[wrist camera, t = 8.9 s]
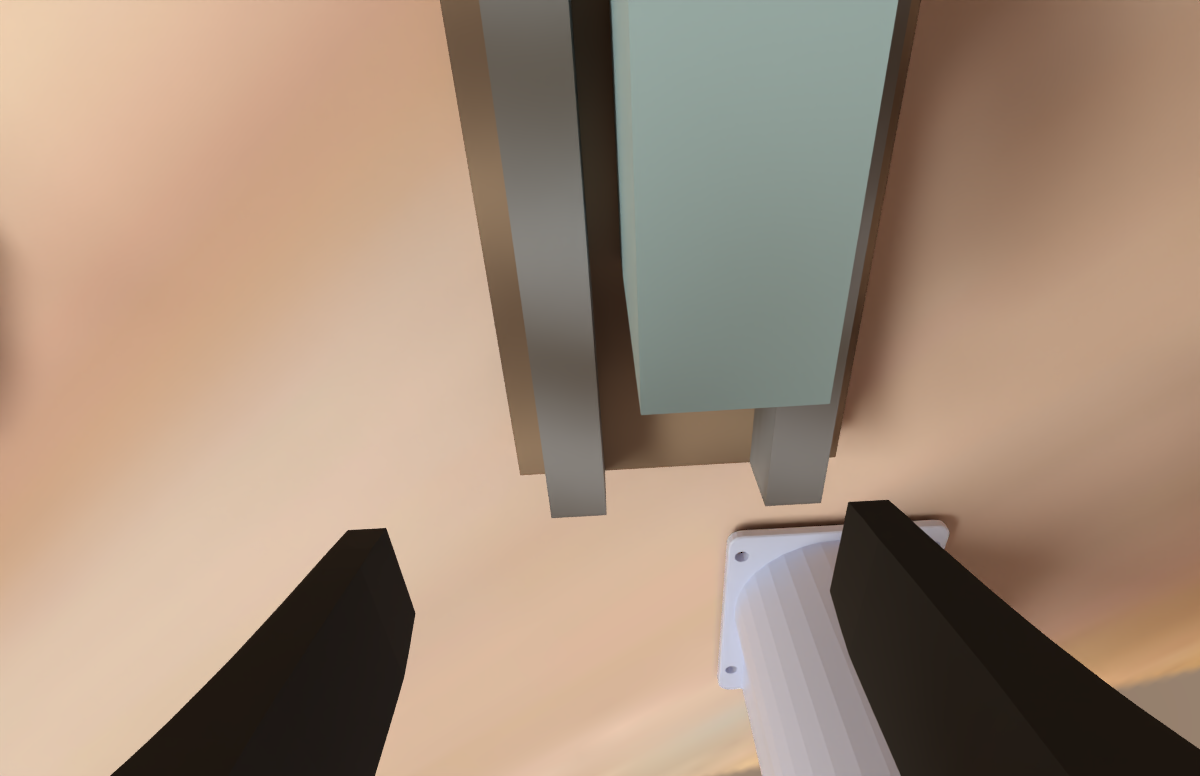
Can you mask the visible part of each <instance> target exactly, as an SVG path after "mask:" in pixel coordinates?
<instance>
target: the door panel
mask: <svg viewBox="0 0 1200 776" xmlns="http://www.w3.org/2000/svg"><path fill="white" fill-rule="evenodd" d="M897 5H898V0H609V6H610V28H611V51H612V73H613V96H614V118H615V141H616V163H617V186H618V208H619V231H620V253H621V265H622V273H623V281H624V288H625V296H626V304H627V311H628V319H629V327H630V335H631V342H632V350H633V358H634V366H635V373H636V381H637V389H638V397H639V404H640V412H641V415H652V414H669V413H686V412H702V411H719V410H736V409H753V408H769V407H786V406H803V405H820V404H830V400H831V394H832V388H833V382H834V376H835V370H836V364H837V358H838V353H839V347H840V341H841V335H842V329H843V323H844V317H845V311H846V306H847V300H848V294H849V288H850V282H851V276H852V270H853V264H854V258H855V253H856V247H857V241H858V235H859V229H860V223H861V217H862V211H863V205H864V200H865V194H866V188H867V182H868V176H869V170H870V164H871V158H872V152H873V147H874V141H875V135H876V129H877V123H878V117H879V111H880V105H881V99H882V94H883V88H884V82H885V76H886V70H887V64H888V58H889V52H890V46H891V41H892V35H893V29H894V23H895V17H896V11H897Z"/></svg>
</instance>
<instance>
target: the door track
mask: <svg viewBox="0 0 1200 776" xmlns="http://www.w3.org/2000/svg"><path fill="white" fill-rule="evenodd" d="M920 2H921V0H898V5H897V11H896V17H895V23H894V29H893V35H892V41H891V46H890V52H889V58H888V64H887V70H886V76H885V82H884V88H883V94H882V99H881V105H880V111H879V117H878V123H877V129H876V135H875V141H874V147H873V152H872V158H871V164H870V170H869V176H868V182H867V188H866V194H865V200H864V205H863V211H862V217H861V223H860V229H859V235H858V241H857V247H856V253H855V258H854V264H853V270H852V276H851V282H850V288H849V294H848V300H847V306H846V311H845V317H844V323H843V329H842V335H841V341H840V347H839V353H838V358H837V364H836V370H835V376H834V382H833V388H832V394H831V400H830V404H820V405H803V406H786V407H769V408H753V409H736V410H719V411H702V412H686V413H669V414H652V415H641V412H640V404H639V397H638V389H637V381H636V373H635V366H634V358H633V350H632V342H631V335H630V327H629V319H628V311H627V304H626V296H625V288H624V281H623V273H622V265H621V253H620V231H619V208H618V186H617V163H616V141H615V118H614V96H613V73H612V51H611V28H610V6H609V0H440V3H441V9H442V15H443V21H444V27H445V33H446V39H447V45H448V50H449V56H450V62H451V68H452V74H453V80H454V86H455V92H456V98H457V104H458V110H459V115H460V121H461V127H462V133H463V139H464V145H465V151H466V157H467V163H468V169H469V174H470V180H471V186H472V192H473V198H474V204H475V210H476V216H477V222H478V228H479V234H480V239H481V245H482V251H483V257H484V263H485V269H486V275H487V281H488V287H489V293H490V299H491V304H492V310H493V316H494V322H495V328H496V334H497V340H498V346H499V352H500V358H501V363H502V369H503V375H504V381H505V387H506V393H507V399H508V405H509V411H510V417H511V423H512V428H513V434H514V440H515V446H516V452H517V458H518V464H519V470H520V475H533V474H545V475H546V482H547V489H548V496H549V503H550V510H551V517H552V518H562V517H580V516H597V515H606V488H605V470H620V469H637V468H655V467H672V466H689V465H707V464H724V463H742V462H750V464H751V467H752V470H753V473H754V476H755V478H756V481H757V484H758V487H759V490H760V493H761V495H762V498H763V501H764V504H765V506H775V505H793V504H811V503H821V499H822V494H823V488H824V483H825V477H826V472H827V466H828V461H829V457H835V456H836V451H837V445H838V440H839V435H840V429H841V424H842V419H843V413H844V408H845V403H846V397H847V392H848V387H849V381H850V376H851V371H852V365H853V360H854V355H855V349H856V344H857V339H858V333H859V328H860V322H861V317H862V312H863V306H864V301H865V296H866V290H867V285H868V280H869V274H870V269H871V264H872V258H873V253H874V248H875V242H876V237H877V232H878V226H879V221H880V216H881V210H882V205H883V200H884V194H885V189H886V184H887V178H888V173H889V168H890V162H891V157H892V152H893V146H894V141H895V136H896V130H897V125H898V119H899V114H900V109H901V103H902V98H903V93H904V87H905V82H906V77H907V71H908V66H909V61H910V55H911V50H912V45H913V39H914V34H915V29H916V23H917V18H918V13H919V7H920Z"/></svg>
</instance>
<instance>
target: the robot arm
mask: <svg viewBox="0 0 1200 776" xmlns="http://www.w3.org/2000/svg"><path fill="white" fill-rule="evenodd" d="M949 532H950V531H949V530H948V528H947V526H946V525H945V524H944V522H942V521H940V520H920V521H912V520H911V519H910V518H908V517H907V516H906V515H905V514H904V513H903V512H902V511H901V510H899V509H898V508H897V507H896V506H895V505H894V504H892V503H891V502H890V501H889V500H878V501H860V502H848V507H847V511H846V516H845V521H844V525H830V526H812V527H794V528H776V529H758V530H741V531H736V532H734V533H732V534H731V535H730V536H729V537H728V540H727V549H726V563H725V577H724V590H723V604H722V618H721V632H720V646H719V659H718V673H717V678H718V683H719V686H720V687H722V688H724V689H743V694H744V698H745V702H746V707H747V711H748V716H749V720H750V725H751V729H752V733H753V738H754V742H755V747H756V751H757V756H758V760H759V765H760V769H761V773H762V776H1200V749H1198V748H1197V747H1195V746H1194V745H1193V744H1191V743H1190V742H1188V741H1187V740H1186V739H1184V738H1182V737H1181V736H1180V735H1178V734H1177V733H1176V732H1174V731H1173V730H1171V729H1170V728H1168V727H1167V726H1166V725H1164V724H1163V723H1161V722H1160V721H1158V720H1157V719H1155V718H1154V717H1153V716H1151V715H1150V714H1148V713H1147V712H1145V711H1144V710H1143V709H1141V708H1140V707H1138V706H1137V705H1136V704H1134V703H1133V702H1132V701H1130V700H1128V698H1126V697H1125V696H1123V695H1122V694H1120V693H1119V692H1118V691H1117V690H1115V689H1114V688H1113V687H1111V686H1110V685H1109V684H1107V683H1106V682H1105V681H1103V680H1102V679H1101V678H1099V677H1098V676H1097V675H1096V674H1094V673H1093V672H1092V671H1090V670H1089V669H1088V668H1086V667H1085V666H1084V665H1083V664H1081V663H1080V662H1079V661H1077V660H1076V659H1075V658H1074V657H1072V656H1071V655H1070V654H1068V653H1067V652H1066V651H1065V650H1063V649H1062V648H1061V647H1059V646H1058V645H1057V644H1055V643H1054V642H1053V641H1052V640H1050V639H1049V638H1048V637H1047V636H1046V635H1044V634H1043V633H1042V632H1041V631H1039V630H1038V629H1037V628H1036V627H1034V626H1033V625H1032V624H1031V623H1029V622H1028V621H1027V620H1026V619H1025V618H1023V617H1022V616H1021V615H1020V614H1019V613H1017V612H1016V611H1015V610H1014V609H1013V608H1011V607H1010V606H1009V605H1008V604H1007V603H1005V602H1004V601H1003V600H1002V599H1001V598H999V597H998V596H997V595H996V594H995V593H994V592H992V591H991V590H990V589H989V588H988V587H987V586H985V585H984V584H983V583H982V582H981V581H980V580H978V579H977V578H976V577H975V576H974V575H973V574H971V573H970V572H969V571H968V570H967V569H966V568H965V567H963V566H962V565H961V564H960V563H959V562H958V561H957V560H956V559H954V558H953V557H952V556H951V555H950V554H949V553H948V552H947V551H945V550H944V549H945V546H946V543H947V540H948V537H949ZM739 552H743V553H740V554H738V553H739ZM414 618H415V611H414V608H413V605H412V602H411V599H410V596H409V593H408V590H407V587H406V584H405V582H404V579H403V576H402V573H401V570H400V567H399V564H398V561H397V558H396V555H395V552H394V550H393V547H392V544H391V541H390V538H389V535H388V532H387V529H386V528H380V529H362V530H348V531H347V532H346V533H345V534H344V535H343V536H342V537H341V538H340V539H339V540H338V542H337V543H336V544H335V545H334V546H333V547H332V548H331V549H330V550H329V551H328V552H327V554H326V555H325V556H324V557H323V558H322V559H321V560H320V561H319V562H318V564H317V565H316V566H315V567H314V568H313V569H312V570H311V571H310V573H309V574H308V575H307V576H306V577H305V578H304V579H303V580H302V582H301V583H300V584H299V585H298V586H297V587H296V588H295V589H294V591H293V592H292V593H291V594H290V595H289V596H288V597H287V598H286V599H285V601H284V602H283V603H282V604H281V605H280V606H279V607H278V608H277V609H276V611H275V612H274V613H273V614H272V615H271V616H270V617H269V618H268V619H267V620H266V621H265V622H264V624H263V625H262V626H261V627H260V628H259V629H258V630H257V631H256V632H255V633H254V634H253V635H252V636H251V638H250V639H249V640H248V641H247V642H246V643H245V644H244V645H243V646H242V647H241V648H240V649H239V651H238V652H237V653H236V654H235V655H234V656H233V657H232V658H231V659H230V660H229V661H228V662H227V663H226V664H225V665H224V666H223V667H222V668H221V669H220V670H219V671H218V672H217V673H216V674H215V675H214V676H213V677H212V678H211V679H210V680H209V681H208V682H207V684H206V685H205V686H204V687H203V688H202V689H201V690H200V691H199V692H198V693H197V694H196V695H195V696H194V697H193V698H192V699H191V700H190V701H189V702H188V703H187V704H186V705H185V706H184V707H183V708H182V709H181V710H180V711H179V712H178V713H177V714H176V715H175V716H174V717H173V718H172V719H171V720H170V721H169V722H168V723H167V724H166V725H165V726H163V727H162V728H161V729H160V730H159V731H158V732H157V733H156V734H155V735H154V736H153V737H152V738H151V739H150V740H149V741H148V742H147V743H146V744H144V745H143V746H142V747H141V748H140V749H139V750H138V751H137V752H136V753H135V754H134V755H133V756H132V757H131V758H129V759H128V760H127V761H126V762H125V763H124V764H123V765H122V766H121V767H119V768H118V769H117V770H116V771H115V772H114V773H113V774H112V775H110V776H375V774H376V770H377V767H378V764H379V760H380V757H381V754H382V750H383V747H384V744H385V741H386V737H387V734H388V731H389V727H390V724H391V720H392V717H393V714H394V710H395V707H396V704H397V700H398V697H399V693H400V690H401V686H402V683H403V679H404V675H405V670H406V664H407V659H408V654H409V648H410V642H411V636H412V630H413V624H414Z"/></svg>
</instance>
